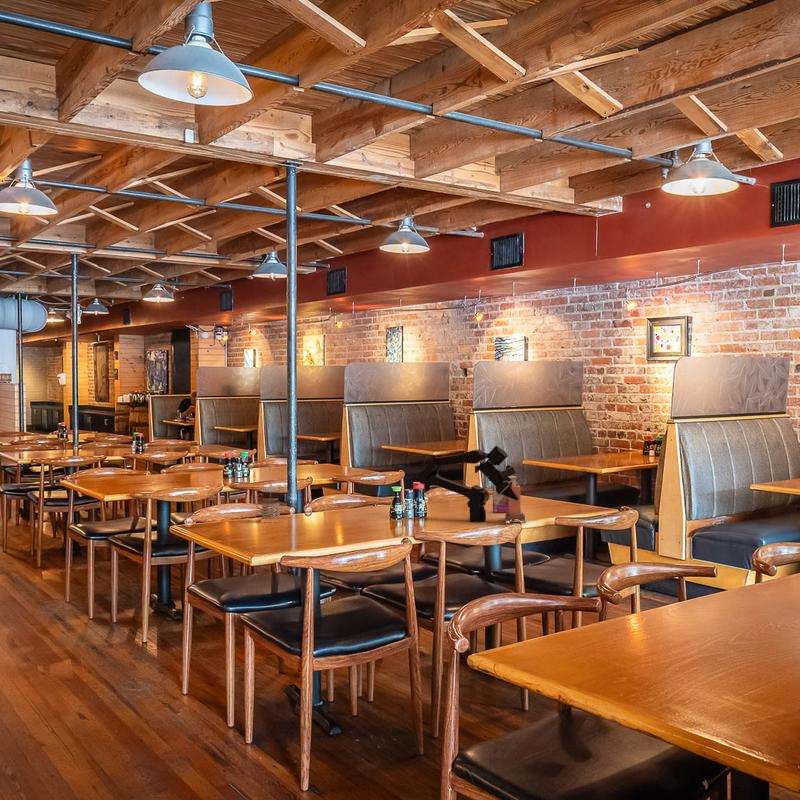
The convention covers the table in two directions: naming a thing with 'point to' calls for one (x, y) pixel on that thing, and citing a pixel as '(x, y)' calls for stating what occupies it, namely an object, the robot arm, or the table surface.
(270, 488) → the french press
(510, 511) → the column
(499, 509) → the candy bar box
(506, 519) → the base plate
